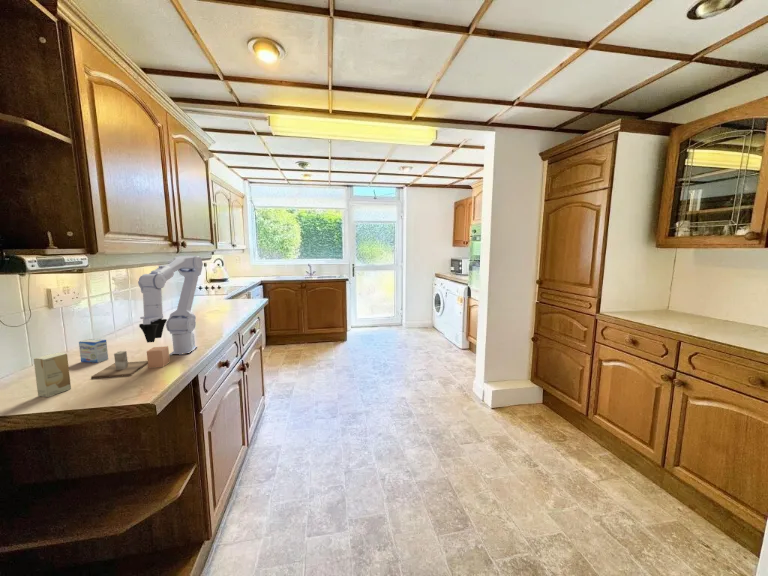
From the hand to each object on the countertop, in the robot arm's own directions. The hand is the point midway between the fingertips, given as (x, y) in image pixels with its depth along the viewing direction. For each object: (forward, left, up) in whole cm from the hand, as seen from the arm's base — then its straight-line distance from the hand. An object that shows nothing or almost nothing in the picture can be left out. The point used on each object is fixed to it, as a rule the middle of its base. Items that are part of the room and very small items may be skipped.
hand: (154, 339), depth 117 cm
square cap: (-2, 0, -11) cm, 11 cm away
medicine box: (-13, -28, -11) cm, 33 cm away
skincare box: (+17, -21, -11) cm, 29 cm away
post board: (+1, -11, -11) cm, 15 cm away
